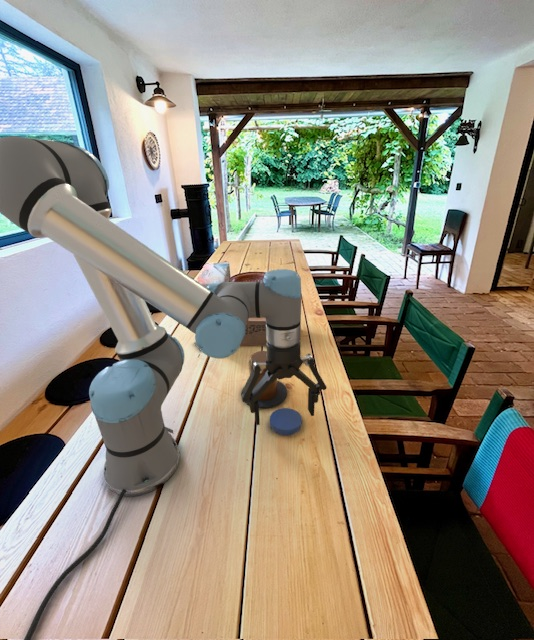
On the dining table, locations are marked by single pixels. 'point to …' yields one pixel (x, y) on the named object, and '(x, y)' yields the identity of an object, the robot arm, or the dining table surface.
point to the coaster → (275, 400)
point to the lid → (285, 421)
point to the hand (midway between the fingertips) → (284, 416)
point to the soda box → (214, 273)
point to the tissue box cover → (255, 332)
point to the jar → (272, 388)
